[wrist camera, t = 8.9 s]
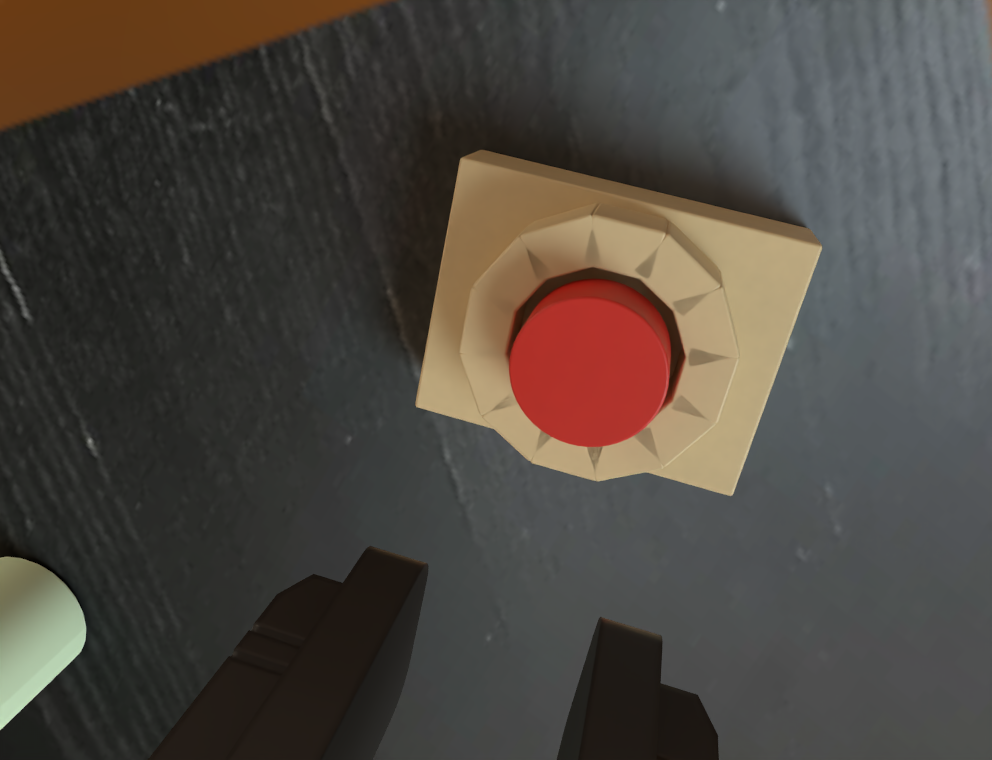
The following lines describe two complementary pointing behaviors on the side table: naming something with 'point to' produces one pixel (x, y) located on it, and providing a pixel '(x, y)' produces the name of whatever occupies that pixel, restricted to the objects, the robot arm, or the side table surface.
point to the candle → (34, 632)
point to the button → (591, 363)
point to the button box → (638, 264)
